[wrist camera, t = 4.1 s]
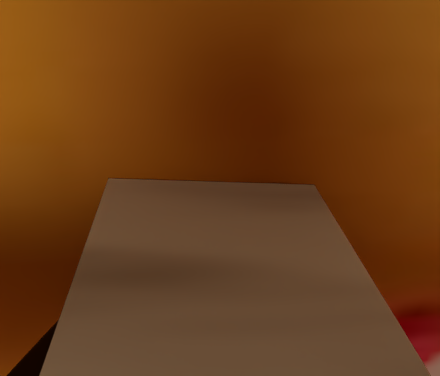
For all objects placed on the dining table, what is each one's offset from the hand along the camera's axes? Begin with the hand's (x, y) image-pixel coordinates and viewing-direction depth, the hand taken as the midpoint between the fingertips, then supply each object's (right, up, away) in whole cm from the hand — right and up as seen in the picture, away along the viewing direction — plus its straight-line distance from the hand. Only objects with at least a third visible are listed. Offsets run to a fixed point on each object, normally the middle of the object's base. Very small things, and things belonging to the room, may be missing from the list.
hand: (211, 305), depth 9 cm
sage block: (0, +1, +1) cm, 2 cm away
